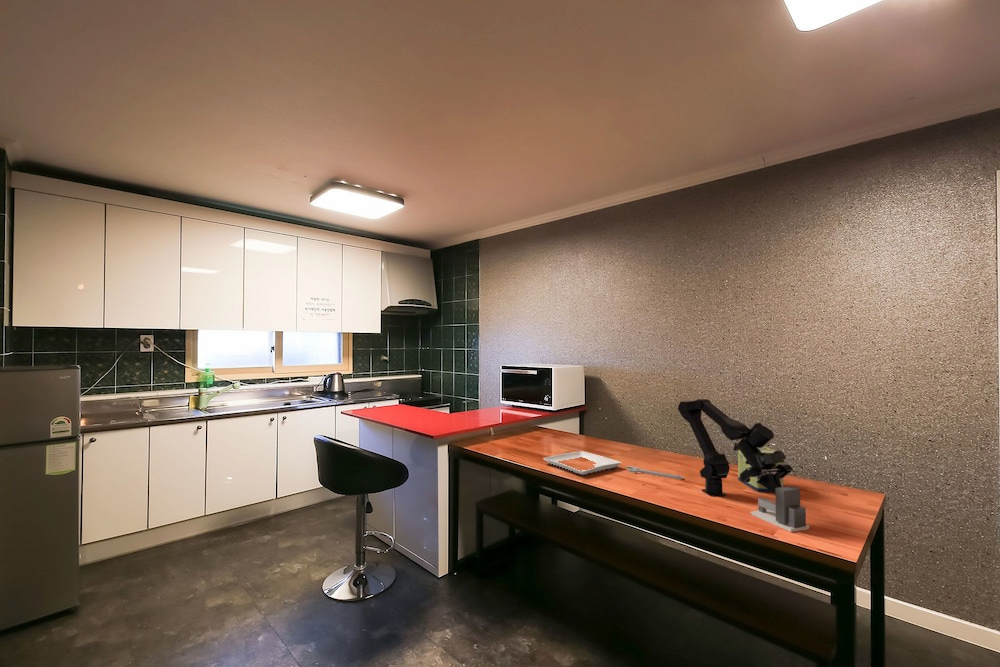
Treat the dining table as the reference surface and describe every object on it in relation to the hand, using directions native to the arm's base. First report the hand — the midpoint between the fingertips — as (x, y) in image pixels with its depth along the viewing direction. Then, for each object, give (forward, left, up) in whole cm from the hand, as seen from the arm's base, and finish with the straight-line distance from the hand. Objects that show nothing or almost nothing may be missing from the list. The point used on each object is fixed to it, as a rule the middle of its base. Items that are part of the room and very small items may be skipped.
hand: (782, 496), depth 139 cm
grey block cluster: (-1, 0, -8) cm, 8 cm away
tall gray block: (+2, 0, -7) cm, 8 cm away
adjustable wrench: (-54, -20, -9) cm, 58 cm away
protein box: (-36, +19, -9) cm, 41 cm away
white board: (-2, 0, -9) cm, 9 cm away
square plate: (-69, -48, -9) cm, 84 cm away
